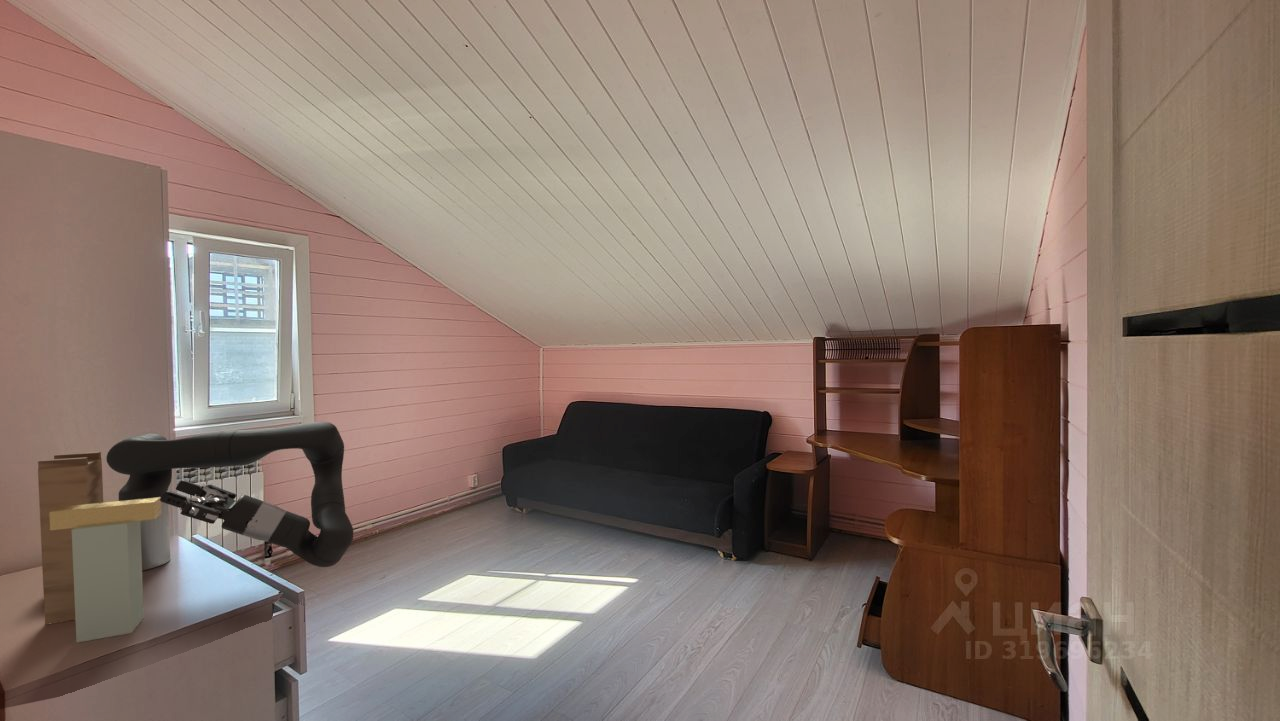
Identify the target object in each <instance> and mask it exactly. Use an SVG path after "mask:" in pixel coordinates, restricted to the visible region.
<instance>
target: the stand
mask: <svg viewBox="0 0 1280 721" xmlns="http://www.w3.org/2000/svg"><path fill="white" fill-rule="evenodd" d="M102 460H103V459H102V451H93V452H90V451H89V452H79V453H75V452H74V453H64V454H63V453H61V454H60V453H59V454H54V455H53V459H42V460H38V461H37V465H38V467H37V468H38V469H37V479H38V482H37V483H38V501H39V503H38V504H39V523H40V545H41V564H42V565H41V567H42V568H41V570H42V586H43V587H42V590H43V591H42V592H43V609H44V611H43V612H44V613H43V614H44V625H45V624H47V625H50V624H49V623H53V624H56V623H55V622H59V623H62V622H61V621H65V622H70V621H69V620H71V621H76V620H75V596H74V573H73V550H72V529H74V528H68V529H59V530H50V516H49V512H51V511H53V510H54V509H56V508H58V507H62V506H72V505H83V504H94V503H104V489H103V487H104V486H103V485H104V484H103V483H104V482H103V464H102V463H103V462H102Z"/></svg>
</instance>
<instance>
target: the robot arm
mask: <svg viewBox="0 0 1280 721" xmlns="http://www.w3.org/2000/svg"><path fill="white" fill-rule="evenodd" d="M289 449H290V450H293V449H294V450H295V449H296V450H297V449H299V450H302V452H303V454H304V456H305V458H306V459H307V460H308V461H309V463H310V465H311V468H312V471H313V475H314V485H313V487H312V491H311V496H310V509H311V521H312V524H313V526H314V527H315V528H316V529H318V530H320V531H319V533H318V536H317V535H315V534H314V533H313V532H311V531H310V526H311V521H310V520H309V519H308V518H306V517H305V516H302V515H299V514H296V513H293V512H292V511H289V510H288V511H287V510H285V509H284V508H281V507H280V506H278V505H276V504H275V505H274V504H272V503H269V502H266V501H264V500H261V499H258V498H256V497H253V496H250V495H247V494H242V495H241V496H239V498H238V499H237V500H236V497H237V494H236V493H234V492H231V491H228V490H226V489H223V488H220V487H218V486H216V485H213V484H208V485H200V484H196V483H194V482H191V481H189V480H186V479H182V480H180V481H179V482H178V484H177V485H176V487H175V490H176V491H178V492H180V494H179V493H177V492H174V491H171V490H169V488H170V485H171V483H172V478H173V477H172V476H173V475H172V474H173V469H174V470H175V469H200V468H201V469H203V468H204V469H205V468H226V467H240V466H248V465H250V464H253V463H255V462H258V461H259V460H261V459H262V458H264V457H265V456H267V455H269V454H271V453H273V452H276V451H281V450H289ZM344 457H345V443H344V439H342V436H341V434H340V432H339V429H338V428H337V426H336V425H335V424H333V423H331V422H329V421H328V422H327V421H312V422H305V423H299V424H292V425H286V426H277V427H269V428H268V427H267V428H256V429H230V430H222V431H219V430H218V431H213V432H206V433H201V434H196V435H191V436H186V437H181V438H176V439H167V438H166V437H165V436H164V435H161V434H159V433H151V432H150V433H145V434H144V433H143V434H140V435H137V436H132V437H128V438H125V439H122V440H121V441H119V442H117V443H115V444H114V445H113V446H111V448H110V449H109V451H108V452H107V455H106V458H105V459H106V460H105V461H106V463H107V465H108V466H109V467H110V468H111V469H112V470H113V471H114V472H116V473H119V474H123V475H126V476H128V475H129V478H128V480H127V481H126V482H125V484H124V485H123V486H122V487H121V488H120V490H119V491H118V501H125V500H136V499H147V498H157V497H161V499H160V501H161V513H162V514H161V515H159V516H158V517H157V518H156V519H152V520H142V521H140V528H141V555H142V571H145V570H150V569H153V568H157V567H160V566H162V565H165V564H166V563H168V562H169V561H171V538H170V537H171V536H170V535H171V534H170V511H169V509H170V508H169V505H170V506H173V507H175V508H178V509H179V510H180V515H183V516H185V517H189V518H192V519H195V520H198V521H202V522H204V523H208V524H211V525H212V524H215V523H216V521H217V520H218V519H220V520H223V522H222V523H221V529H223V530H225V531H229V532H232V533H235V534H238V535H241V536H244V537H247V538H250V539H253V540H257V541H263V542H268V543H270V544H273V545H275V546H278V547H282V548H285V549H288V550H289V551H290V552H291V553H293V554H295V555H296V556H297V557H299V558H301V559H302V560H304V561H305V562H307V563H308V564H310V565H312V566H315V567H320V568H329V567H333V566H334V565H336V564H337V563H339V562H340V560H341V559H342V558H343V556H344V555H345V553H346V552H347V551H348V549H349V548H350V546H351V545H352V542H353V540H354V527H353V525H352V522H351V520H350V518H349V516H348V514H347V513H346V504H345V503H346V502H345V496H344V488H343V480H342V479H343V478H342V473H343V463H344ZM181 493H184V494H186V495H190V496H192V497H193V498H192V497H188V496H186V495H183V494H181ZM195 497H196V498H195Z"/></svg>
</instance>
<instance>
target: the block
mask: <svg viewBox="0 0 1280 721" xmlns="http://www.w3.org/2000/svg"><path fill="white" fill-rule="evenodd" d="M72 550H73V573H74V596H75V619H76V620H75V636H76V637H75V638H76V640H75V641H76V644H77V643H82V642H89V641H93V640H94V641H95V640H100V639H107V638H111V637H116V636H117V637H118V636H122V635H128V634H132V633H133V632H134V631H135V629H136V628H138V626H139V625H140V624H141V623H142V621H143V620H144V619H145V611H144V589H143V588H144V587H143V586H144V585H143V584H144V583H143V570H142V555H141V528H140V521H133V522H124V523H115V524H105V525H96V526H87V527H77V528H74V529H72ZM143 618H144V619H143ZM142 619H143V620H142Z"/></svg>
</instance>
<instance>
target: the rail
mask: <svg viewBox="0 0 1280 721" xmlns="http://www.w3.org/2000/svg"><path fill="white" fill-rule="evenodd" d="M160 499H161V497H157V498H147V499H136V500H125V501H119V500H118V501H117V500H116V501H106V502H104V501H103V503H94V504H83V505H72V506H62V507H58V508H56V509H54V510H53V511H51V512H49V516H50V530H59V529H68V528H77V527H87V526H96V525H105V524H115V523H124V522H133V521H142V520H152V519H156V518H157V517H158V516H159V515H161V514H162V513H161V501H160Z"/></svg>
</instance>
